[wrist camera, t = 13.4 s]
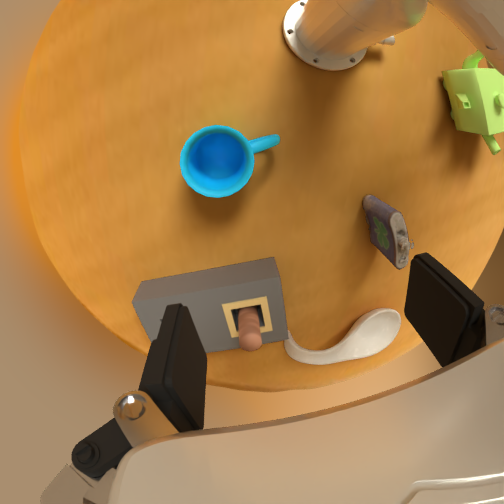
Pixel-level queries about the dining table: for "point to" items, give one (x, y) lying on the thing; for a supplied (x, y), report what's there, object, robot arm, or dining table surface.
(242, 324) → the pin
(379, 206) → the flask
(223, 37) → the dining table surface
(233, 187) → the mug
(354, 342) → the spoon rest
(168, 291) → the bore block
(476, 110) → the green block with protrusions
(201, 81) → the dining table surface
